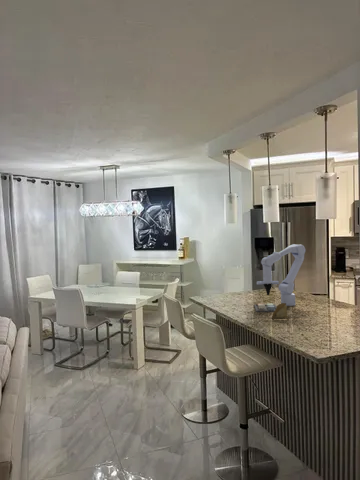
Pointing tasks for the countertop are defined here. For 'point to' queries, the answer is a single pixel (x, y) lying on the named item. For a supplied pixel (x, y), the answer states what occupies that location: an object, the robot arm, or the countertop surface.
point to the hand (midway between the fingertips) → (268, 294)
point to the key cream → (261, 306)
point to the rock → (280, 312)
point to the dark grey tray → (264, 309)
